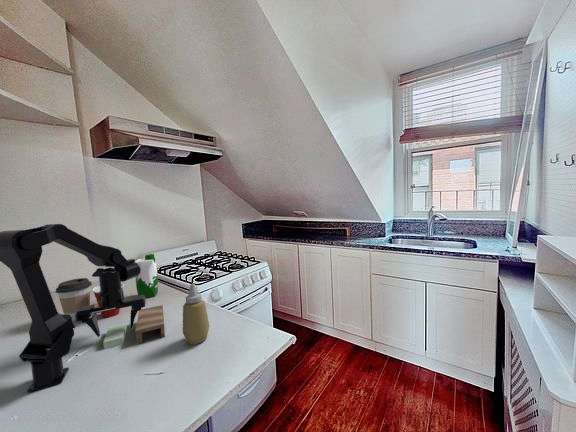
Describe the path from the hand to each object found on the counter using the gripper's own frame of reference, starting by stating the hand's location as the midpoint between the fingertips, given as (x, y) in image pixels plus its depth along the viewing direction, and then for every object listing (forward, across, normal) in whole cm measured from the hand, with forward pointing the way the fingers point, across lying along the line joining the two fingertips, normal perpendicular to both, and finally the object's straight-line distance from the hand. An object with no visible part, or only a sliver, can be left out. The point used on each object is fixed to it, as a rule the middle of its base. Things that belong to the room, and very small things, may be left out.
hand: (115, 332), depth 85 cm
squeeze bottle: (+2, -24, +17) cm, 29 cm away
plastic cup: (+2, +4, -24) cm, 25 cm away
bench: (+2, -10, 0) cm, 11 cm away
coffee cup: (+2, +16, -29) cm, 33 cm away
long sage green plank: (+2, 0, 0) cm, 2 cm away
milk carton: (+2, -8, -40) cm, 41 cm away
